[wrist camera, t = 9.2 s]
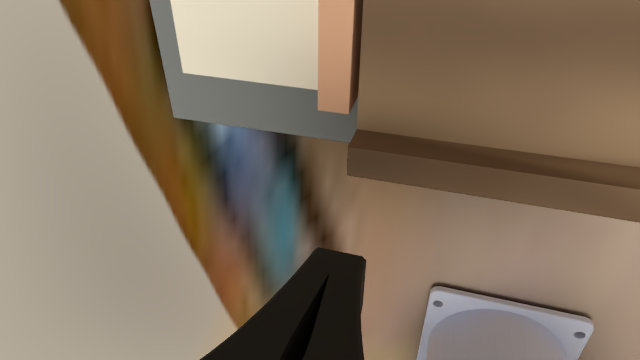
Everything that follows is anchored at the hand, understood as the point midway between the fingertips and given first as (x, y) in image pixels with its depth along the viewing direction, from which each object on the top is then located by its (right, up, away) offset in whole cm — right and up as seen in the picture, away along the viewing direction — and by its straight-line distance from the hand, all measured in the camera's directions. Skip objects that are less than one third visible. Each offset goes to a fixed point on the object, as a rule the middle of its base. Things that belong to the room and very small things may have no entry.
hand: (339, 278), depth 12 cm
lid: (-2, +10, +5) cm, 12 cm away
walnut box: (+7, +9, +4) cm, 11 cm away
